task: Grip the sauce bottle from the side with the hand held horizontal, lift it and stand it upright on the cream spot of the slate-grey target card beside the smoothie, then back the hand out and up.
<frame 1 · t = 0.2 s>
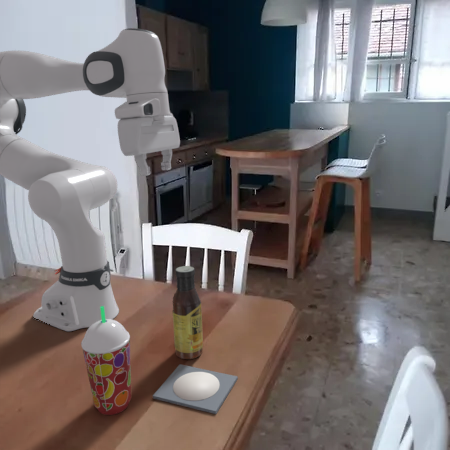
hand: (156, 172, 99), 39 cm above the table, tool pointing down, fingers open, 8 cm apart
smoothie: (113, 406, 82), on the table
target card: (196, 388, 86), on the table
sauce bottle: (189, 353, 99), on the table
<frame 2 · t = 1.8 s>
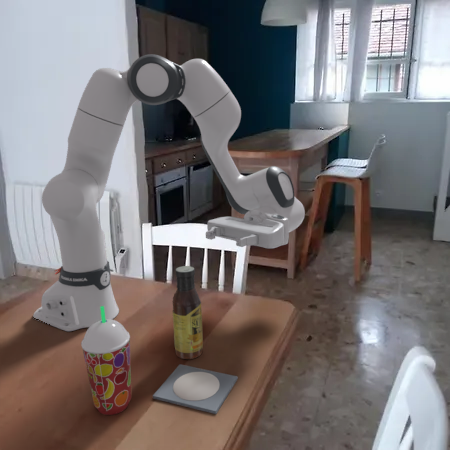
hand: (222, 239, 101), 23 cm above the table, tool horizontal, fingers open, 8 cm apart
nothing on the table moved.
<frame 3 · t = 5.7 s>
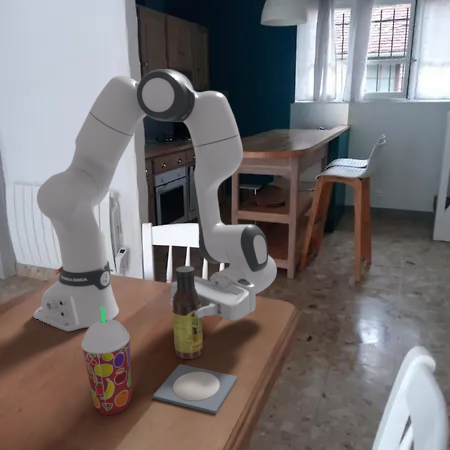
hand: (183, 309, 95), 11 cm above the table, tool horizontal, fingers closed on sauce bottle, 6 cm apart
sauce bottle: (189, 353, 99), on the table, touching gripper
everything else where it was.
when the fingers open (13 cm above the table, at t = 10.1 s): sauce bottle stays where it is, resting on target card.
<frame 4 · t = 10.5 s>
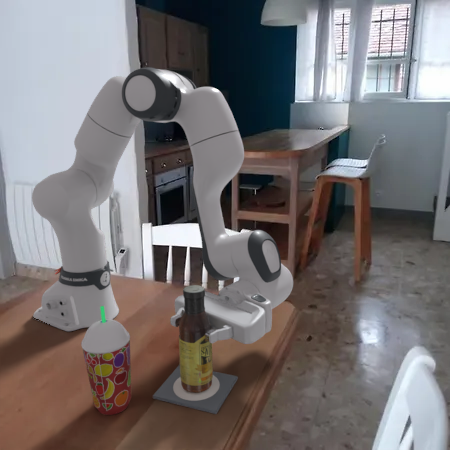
hand: (189, 330, 82), 13 cm above the table, tool horizontal, fingers open, 8 cm apart
sauce bottle: (197, 385, 86), point 1 cm above the table, touching target card
everything else where it was.
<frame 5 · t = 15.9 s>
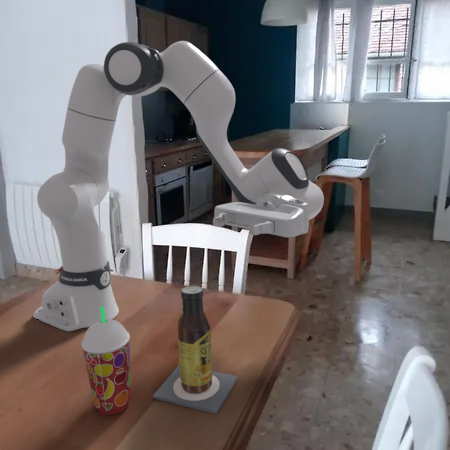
hand: (233, 226, 87), 30 cm above the table, tool horizontal, fingers open, 8 cm apart
nothing on the table moved.
at the end: sauce bottle inside the target area on the target card (0.1 cm from its centre), point 0.5 cm above the target card's base; sauce bottle tilted 0°; the gripper is holding nothing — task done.
